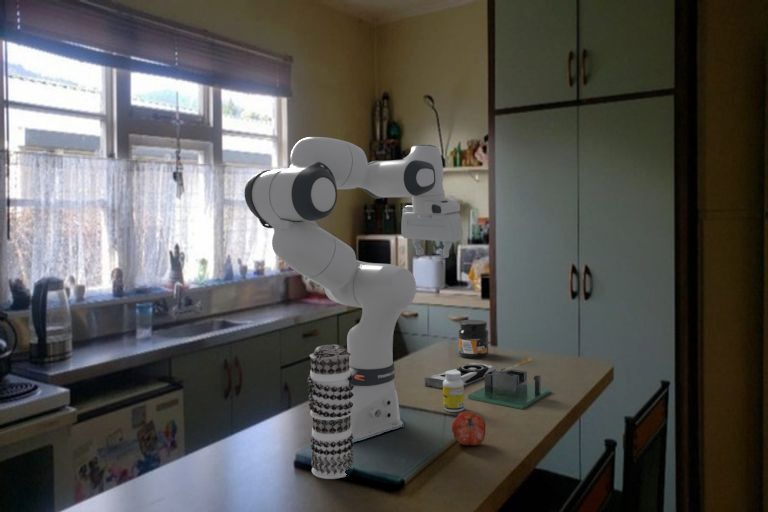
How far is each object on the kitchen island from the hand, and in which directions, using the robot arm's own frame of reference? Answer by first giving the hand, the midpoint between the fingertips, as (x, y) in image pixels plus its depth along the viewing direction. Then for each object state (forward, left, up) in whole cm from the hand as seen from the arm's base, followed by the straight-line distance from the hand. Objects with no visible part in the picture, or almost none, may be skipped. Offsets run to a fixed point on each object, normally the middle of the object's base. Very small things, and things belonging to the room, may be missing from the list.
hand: (432, 256), depth 170 cm
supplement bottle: (-7, -11, -39) cm, 41 cm away
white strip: (+12, -17, -32) cm, 38 cm away
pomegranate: (-25, -26, -39) cm, 53 cm away
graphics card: (+18, +1, -40) cm, 44 cm away
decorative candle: (-53, -11, -39) cm, 67 cm away
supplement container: (+47, +14, -39) cm, 63 cm away
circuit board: (+12, -17, -39) cm, 44 cm away
